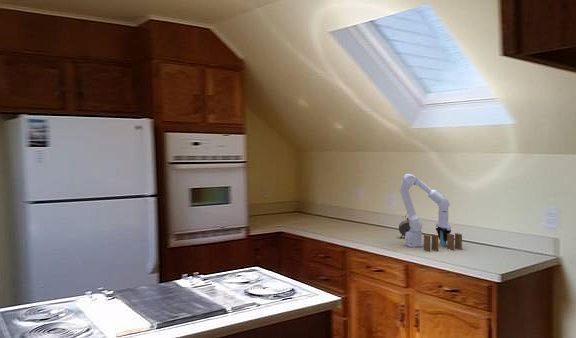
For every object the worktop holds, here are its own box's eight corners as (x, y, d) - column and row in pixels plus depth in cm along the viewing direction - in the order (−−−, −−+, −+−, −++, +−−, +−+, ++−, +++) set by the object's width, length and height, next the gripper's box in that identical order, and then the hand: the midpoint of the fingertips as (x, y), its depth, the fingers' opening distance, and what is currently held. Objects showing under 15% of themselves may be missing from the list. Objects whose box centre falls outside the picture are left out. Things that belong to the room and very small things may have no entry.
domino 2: (435, 251, 291) (435, 235, 291) (431, 249, 296) (431, 234, 295) (438, 251, 291) (438, 235, 291) (434, 249, 296) (434, 234, 296)
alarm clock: (414, 237, 335) (414, 213, 334) (416, 238, 329) (417, 214, 328) (398, 237, 335) (398, 213, 334) (400, 239, 329) (400, 214, 328)
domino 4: (459, 249, 294) (459, 234, 294) (454, 248, 299) (454, 233, 298) (461, 249, 294) (461, 234, 294) (457, 248, 299) (457, 233, 299)
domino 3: (451, 250, 293) (451, 235, 292) (447, 248, 298) (447, 233, 297) (454, 250, 293) (454, 234, 293) (449, 248, 298) (449, 233, 298)
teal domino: (444, 246, 303) (444, 231, 303) (439, 245, 308) (440, 230, 308) (446, 246, 304) (446, 231, 303) (442, 245, 309) (442, 230, 308)
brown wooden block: (427, 251, 290) (427, 236, 290) (423, 249, 295) (423, 234, 294) (430, 251, 290) (430, 236, 290) (426, 249, 295) (426, 234, 295)
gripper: (455, 219, 299) (455, 242, 300) (443, 216, 313) (443, 237, 314) (444, 219, 298) (444, 242, 298) (432, 216, 312) (432, 238, 312)
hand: (443, 240), depth 306 cm, fingers closed on teal domino, 5 cm apart
